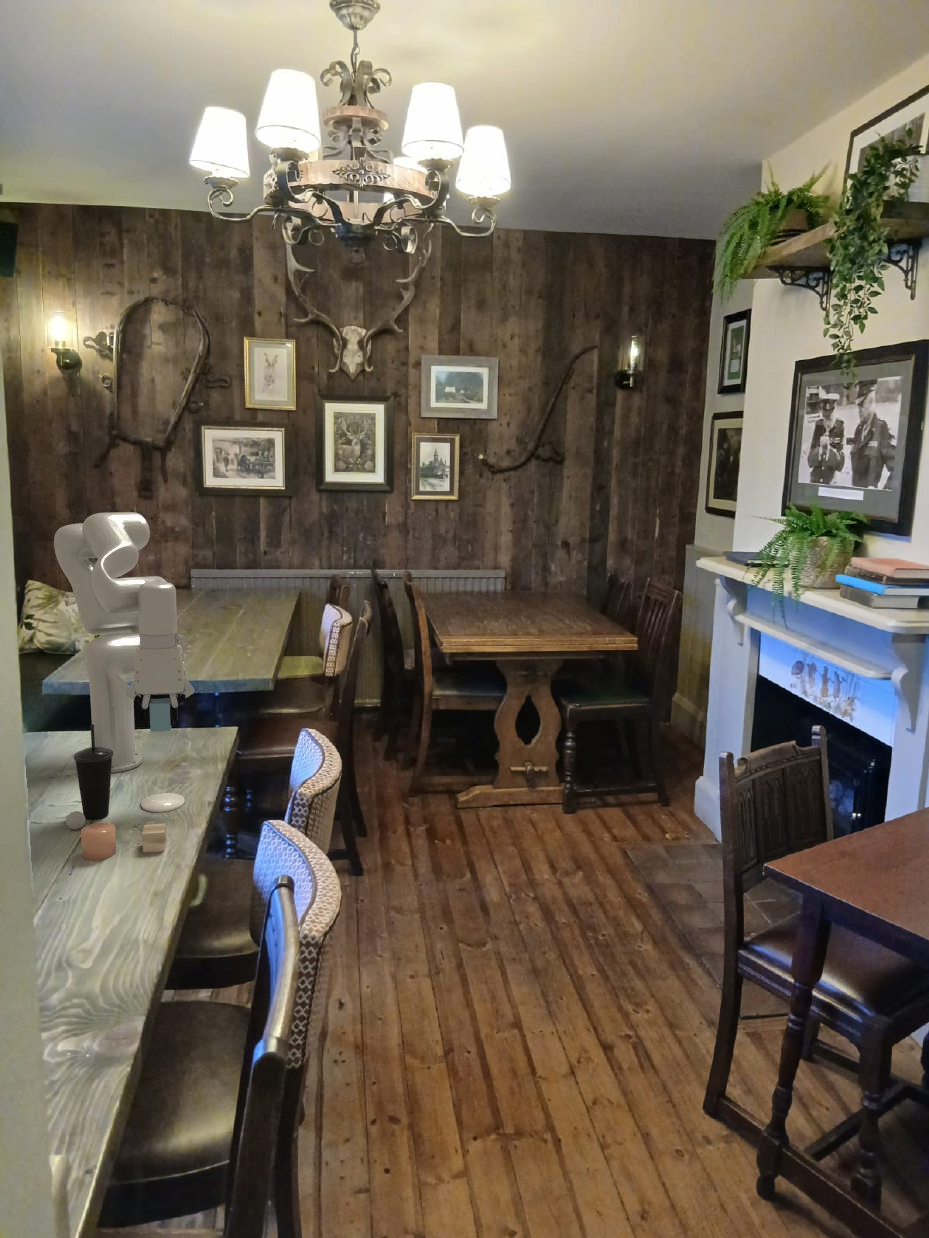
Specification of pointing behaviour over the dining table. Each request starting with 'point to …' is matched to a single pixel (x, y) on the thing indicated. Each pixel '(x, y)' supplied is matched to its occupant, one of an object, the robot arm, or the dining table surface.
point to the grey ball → (75, 820)
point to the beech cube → (154, 838)
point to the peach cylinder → (98, 841)
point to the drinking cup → (94, 779)
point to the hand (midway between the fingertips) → (161, 723)
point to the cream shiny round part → (162, 802)
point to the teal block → (160, 715)
